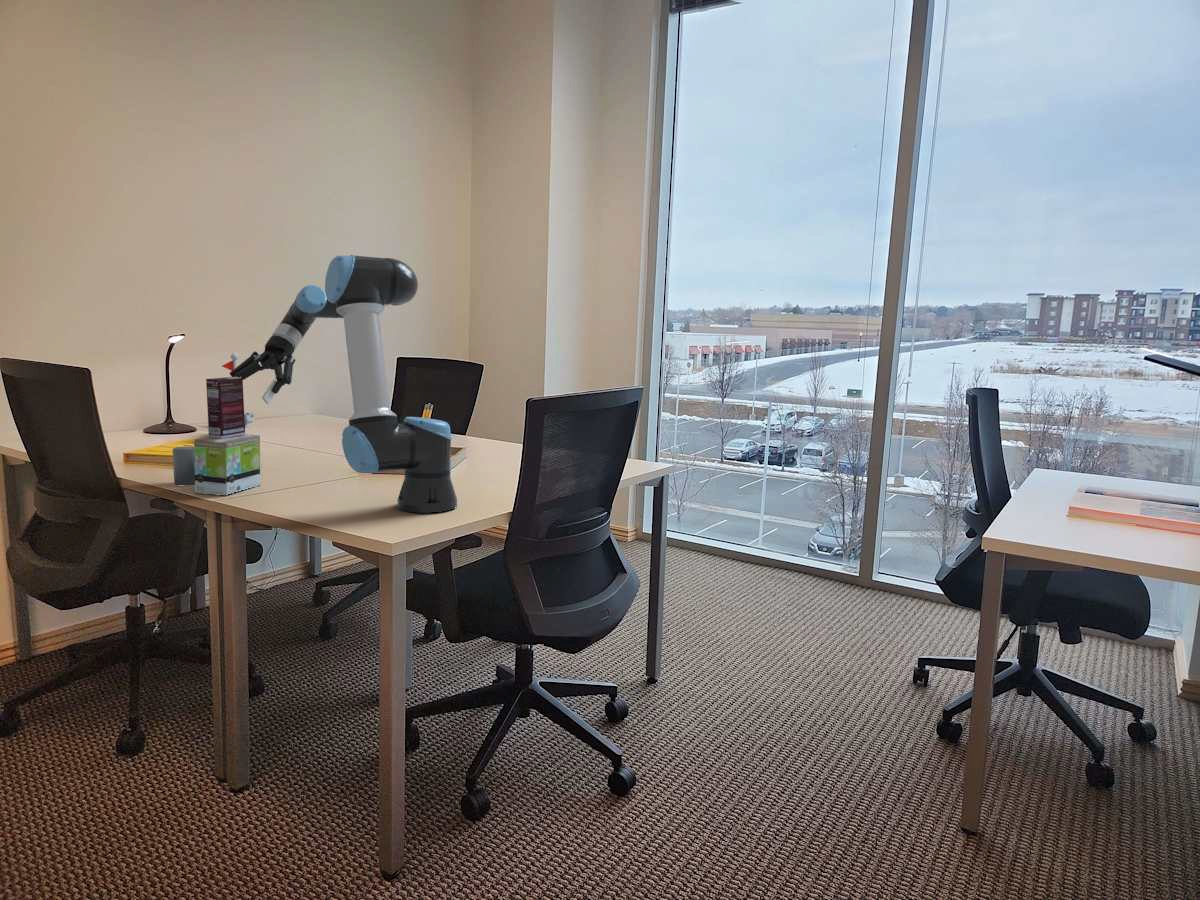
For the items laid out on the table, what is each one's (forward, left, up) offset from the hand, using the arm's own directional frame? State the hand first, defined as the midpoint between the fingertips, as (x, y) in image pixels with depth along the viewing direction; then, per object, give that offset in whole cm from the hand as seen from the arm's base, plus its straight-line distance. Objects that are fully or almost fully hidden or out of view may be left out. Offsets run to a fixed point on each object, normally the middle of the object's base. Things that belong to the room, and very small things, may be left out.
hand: (245, 399), depth 231 cm
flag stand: (+84, -80, -24) cm, 118 cm away
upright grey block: (+15, +7, -24) cm, 29 cm away
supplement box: (0, +7, -10) cm, 12 cm away
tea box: (0, +7, -24) cm, 26 cm away
